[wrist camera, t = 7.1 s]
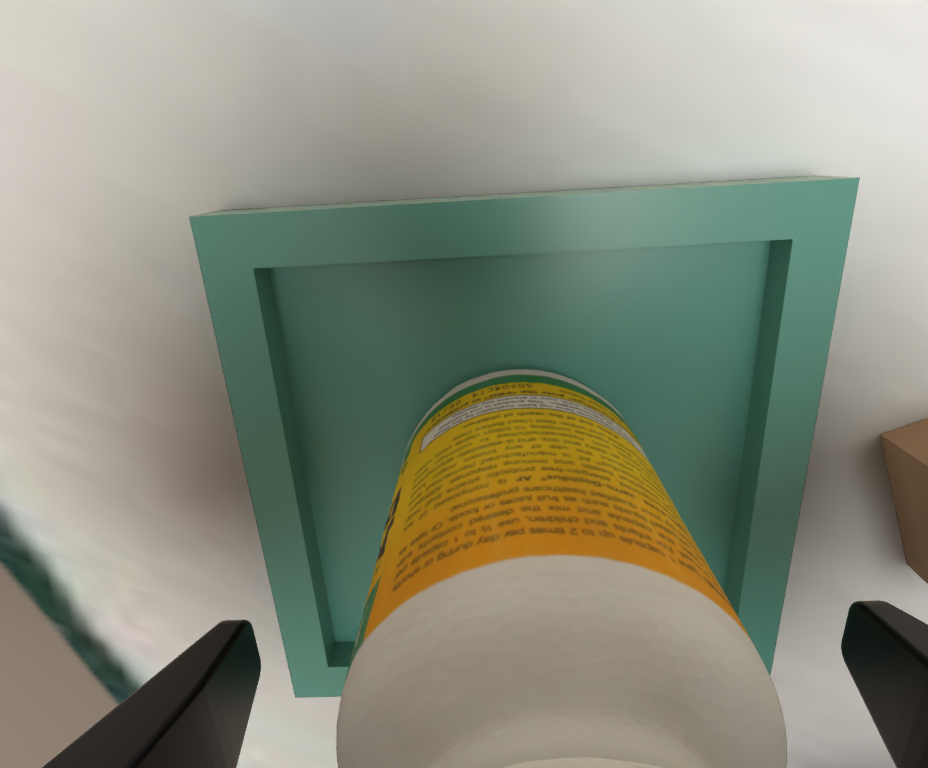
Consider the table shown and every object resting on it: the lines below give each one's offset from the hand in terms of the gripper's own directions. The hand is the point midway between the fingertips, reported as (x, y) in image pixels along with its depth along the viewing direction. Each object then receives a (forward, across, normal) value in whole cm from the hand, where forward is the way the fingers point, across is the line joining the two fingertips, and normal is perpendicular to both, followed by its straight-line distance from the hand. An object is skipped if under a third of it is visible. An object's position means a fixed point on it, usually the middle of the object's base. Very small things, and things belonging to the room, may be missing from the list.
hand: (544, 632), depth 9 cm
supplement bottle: (+5, 0, 0) cm, 5 cm away
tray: (+6, 0, 0) cm, 6 cm away
